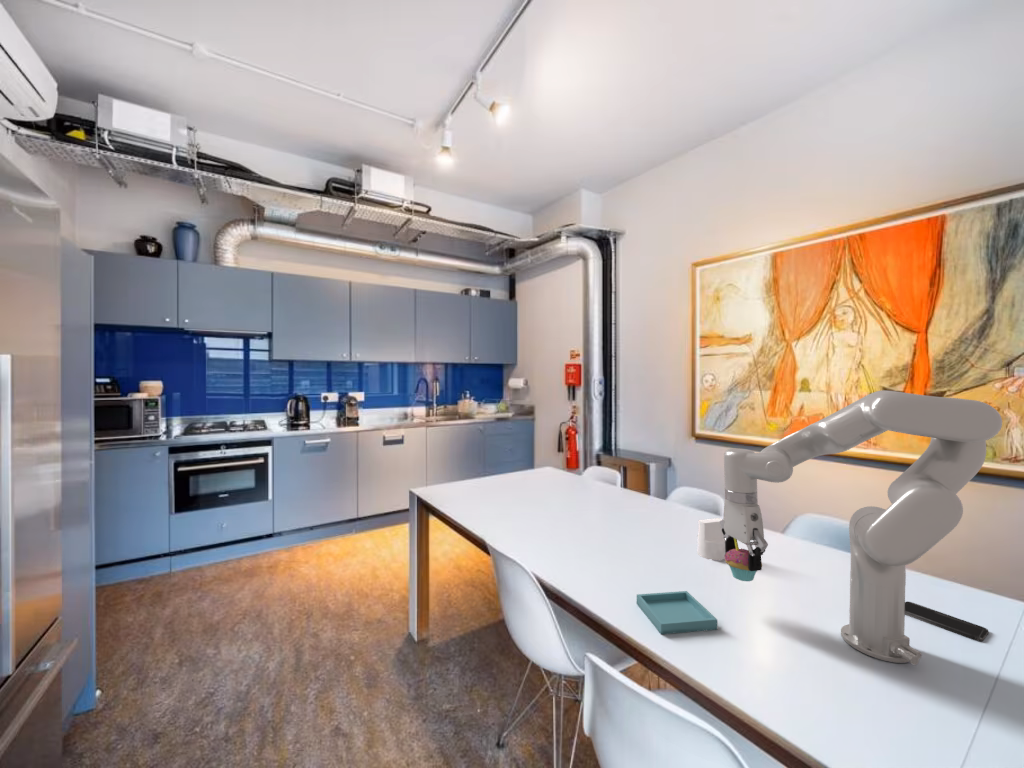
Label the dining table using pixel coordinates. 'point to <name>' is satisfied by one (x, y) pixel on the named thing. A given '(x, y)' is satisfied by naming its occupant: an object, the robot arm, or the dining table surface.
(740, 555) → the cupcake
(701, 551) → the base with upright slab
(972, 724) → the dining table surface
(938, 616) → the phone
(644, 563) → the dining table surface
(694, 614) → the tray
